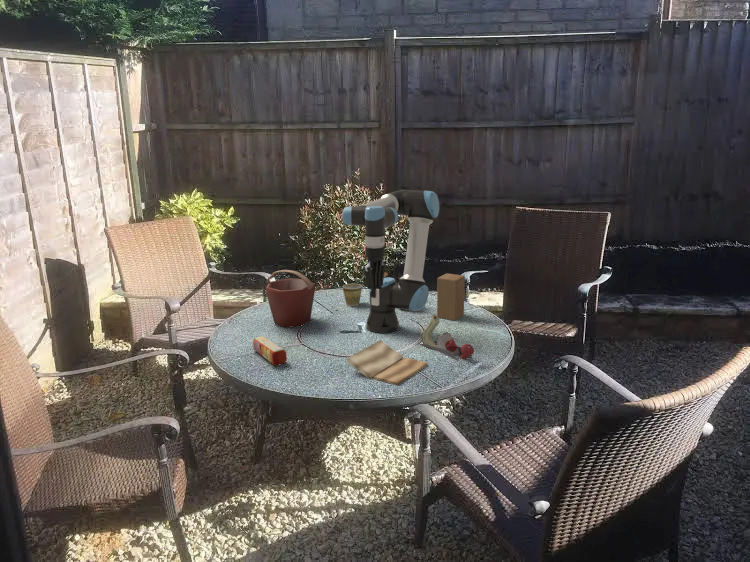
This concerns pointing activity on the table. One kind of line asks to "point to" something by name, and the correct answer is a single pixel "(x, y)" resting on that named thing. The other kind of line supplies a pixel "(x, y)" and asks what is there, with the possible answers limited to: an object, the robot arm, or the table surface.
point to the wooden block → (450, 296)
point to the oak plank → (401, 371)
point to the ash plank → (374, 359)
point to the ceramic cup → (352, 294)
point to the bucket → (290, 299)
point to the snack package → (269, 350)
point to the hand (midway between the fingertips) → (375, 304)
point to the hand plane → (444, 342)
